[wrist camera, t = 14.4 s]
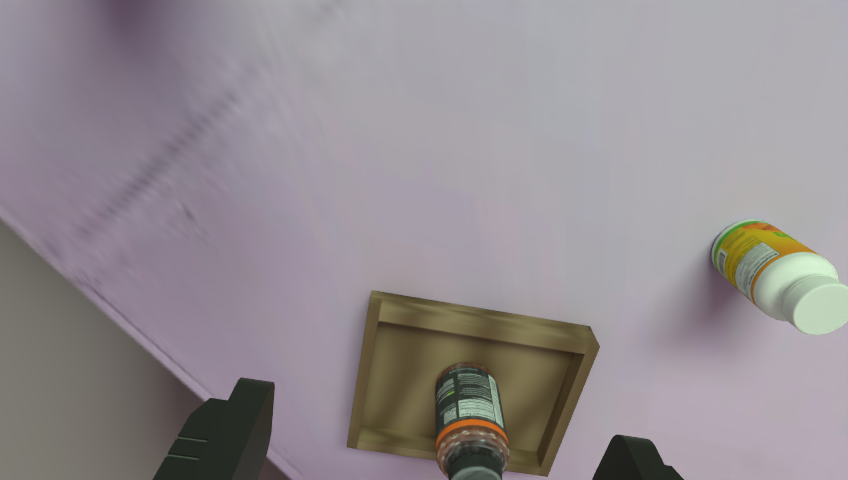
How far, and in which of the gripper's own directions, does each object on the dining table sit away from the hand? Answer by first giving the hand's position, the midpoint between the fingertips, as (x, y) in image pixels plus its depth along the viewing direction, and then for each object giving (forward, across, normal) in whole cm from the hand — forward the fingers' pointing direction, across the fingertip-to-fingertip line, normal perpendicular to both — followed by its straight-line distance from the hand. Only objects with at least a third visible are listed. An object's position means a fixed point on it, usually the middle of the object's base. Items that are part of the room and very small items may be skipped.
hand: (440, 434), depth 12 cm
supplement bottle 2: (+29, -27, +4) cm, 40 cm away
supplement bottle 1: (+28, -8, +22) cm, 37 cm away
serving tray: (+29, -8, +22) cm, 37 cm away
